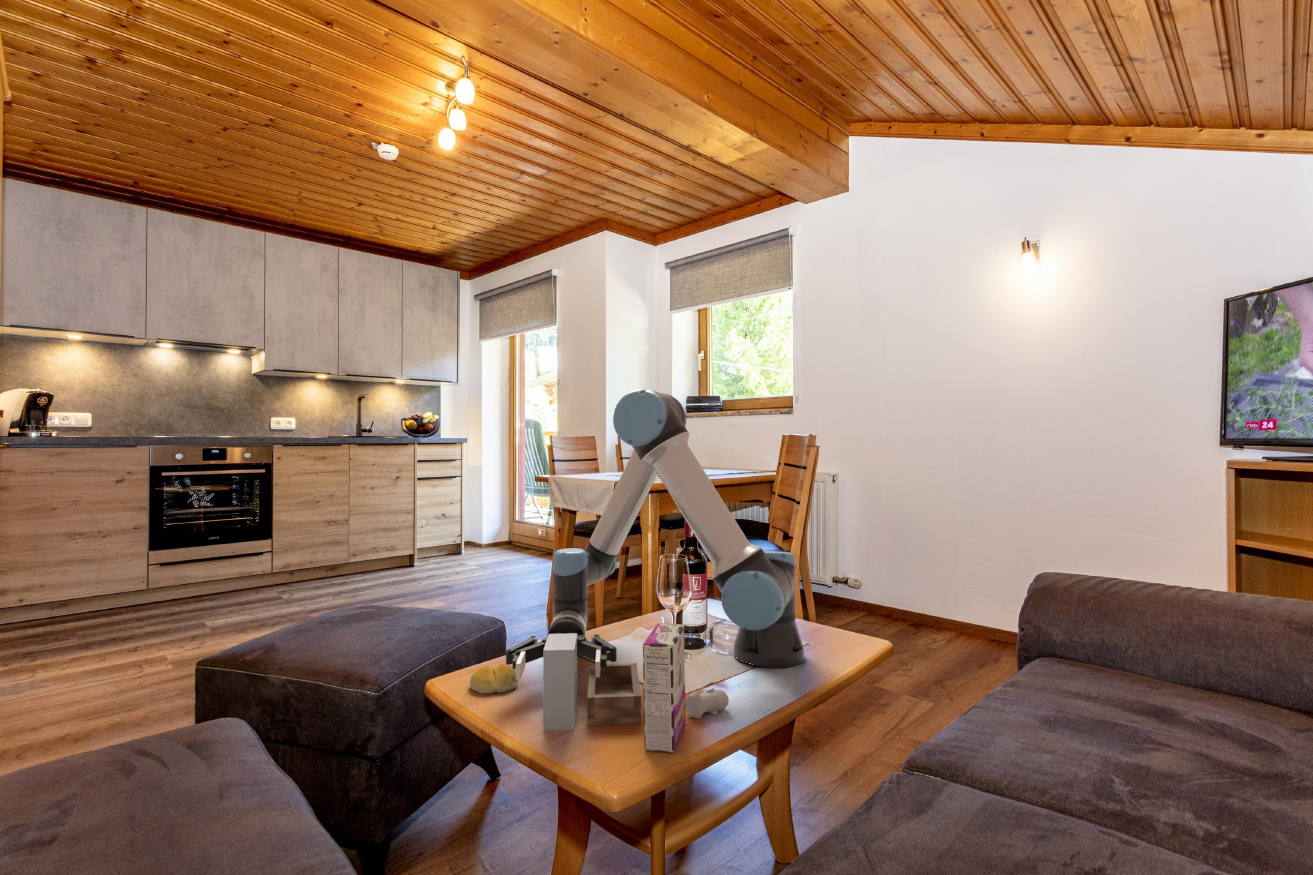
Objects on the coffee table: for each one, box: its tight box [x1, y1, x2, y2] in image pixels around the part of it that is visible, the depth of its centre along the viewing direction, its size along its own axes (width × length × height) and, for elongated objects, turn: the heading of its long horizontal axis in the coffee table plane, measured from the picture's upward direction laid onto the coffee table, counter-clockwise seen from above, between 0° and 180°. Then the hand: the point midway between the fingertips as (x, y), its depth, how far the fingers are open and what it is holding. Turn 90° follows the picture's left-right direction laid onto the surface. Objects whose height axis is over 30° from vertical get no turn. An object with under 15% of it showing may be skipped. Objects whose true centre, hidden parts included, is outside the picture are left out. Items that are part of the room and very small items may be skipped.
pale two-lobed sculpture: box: [685, 688, 730, 720], centre depth 110 cm, size 4×8×5 cm
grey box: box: [542, 633, 578, 732], centre depth 107 cm, size 5×9×13 cm, turn 4°
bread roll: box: [469, 663, 519, 694], centre depth 122 cm, size 8×9×4 cm
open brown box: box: [586, 662, 642, 726], centre depth 113 cm, size 9×16×4 cm, turn 4°
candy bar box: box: [642, 622, 687, 754], centre depth 101 cm, size 11×5×16 cm, turn 168°
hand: (557, 670), depth 109 cm, fingers open, 13 cm apart
